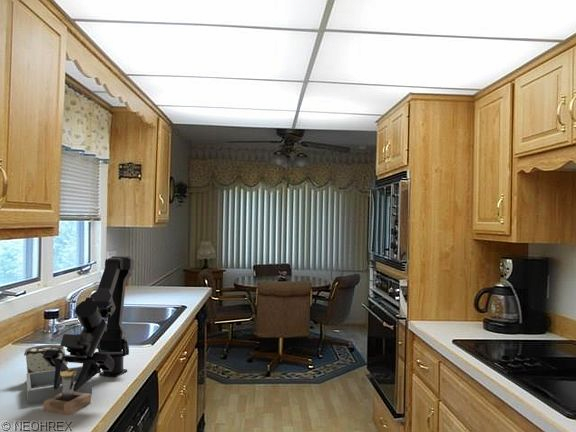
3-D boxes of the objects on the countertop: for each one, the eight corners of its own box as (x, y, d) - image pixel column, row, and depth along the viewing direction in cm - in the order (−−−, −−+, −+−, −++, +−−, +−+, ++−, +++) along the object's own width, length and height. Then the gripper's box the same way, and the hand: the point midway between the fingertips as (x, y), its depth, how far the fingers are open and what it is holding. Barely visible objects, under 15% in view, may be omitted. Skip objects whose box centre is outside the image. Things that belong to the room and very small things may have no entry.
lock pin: (66, 403, 127) (67, 367, 127) (78, 405, 126) (79, 369, 126) (56, 409, 123) (56, 372, 123) (68, 410, 122) (69, 373, 122)
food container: (71, 374, 154) (72, 344, 155) (63, 381, 148) (63, 349, 148) (33, 374, 154) (33, 344, 154) (23, 381, 148) (23, 349, 148)
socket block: (65, 405, 129) (65, 390, 129) (90, 408, 127) (90, 393, 127) (43, 417, 122) (43, 401, 122) (69, 420, 120) (69, 405, 120)
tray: (26, 390, 140) (26, 373, 140) (84, 381, 148) (85, 365, 148) (27, 409, 126) (27, 390, 126) (91, 399, 134) (92, 381, 134)
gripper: (47, 319, 130) (17, 372, 119) (109, 322, 127) (84, 377, 116) (65, 340, 138) (38, 392, 127) (124, 344, 135) (101, 397, 124)
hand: (64, 389), depth 123 cm, fingers open, 5 cm apart
